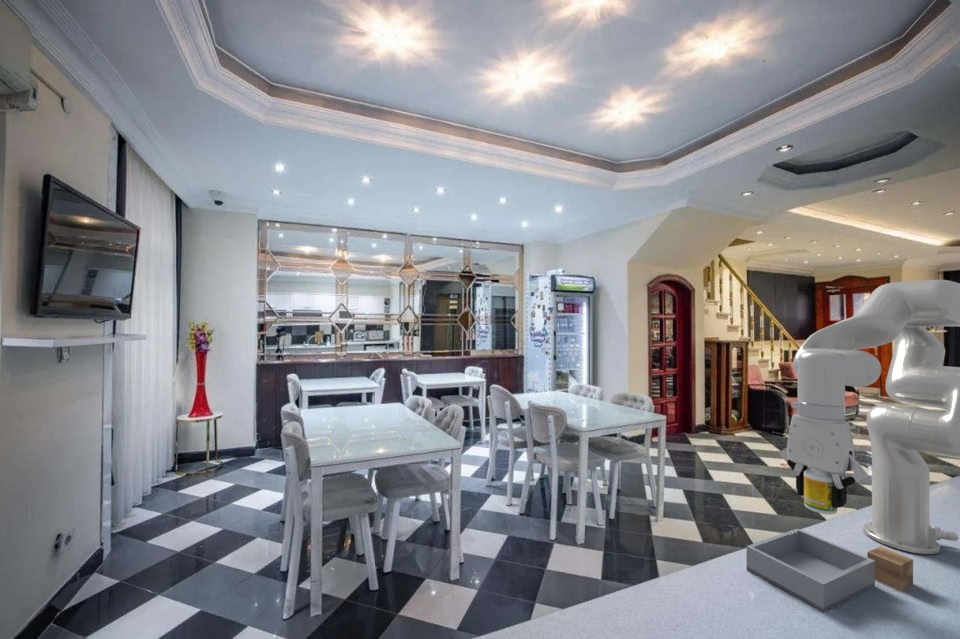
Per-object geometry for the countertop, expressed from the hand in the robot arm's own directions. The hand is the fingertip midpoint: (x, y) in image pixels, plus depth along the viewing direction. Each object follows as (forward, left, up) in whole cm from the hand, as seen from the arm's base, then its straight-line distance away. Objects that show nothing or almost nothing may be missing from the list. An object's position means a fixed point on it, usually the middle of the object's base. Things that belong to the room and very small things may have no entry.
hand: (820, 499), depth 85 cm
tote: (+3, +3, -15) cm, 16 cm away
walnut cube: (-12, -1, -15) cm, 20 cm away
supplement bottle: (0, 0, -2) cm, 2 cm away
